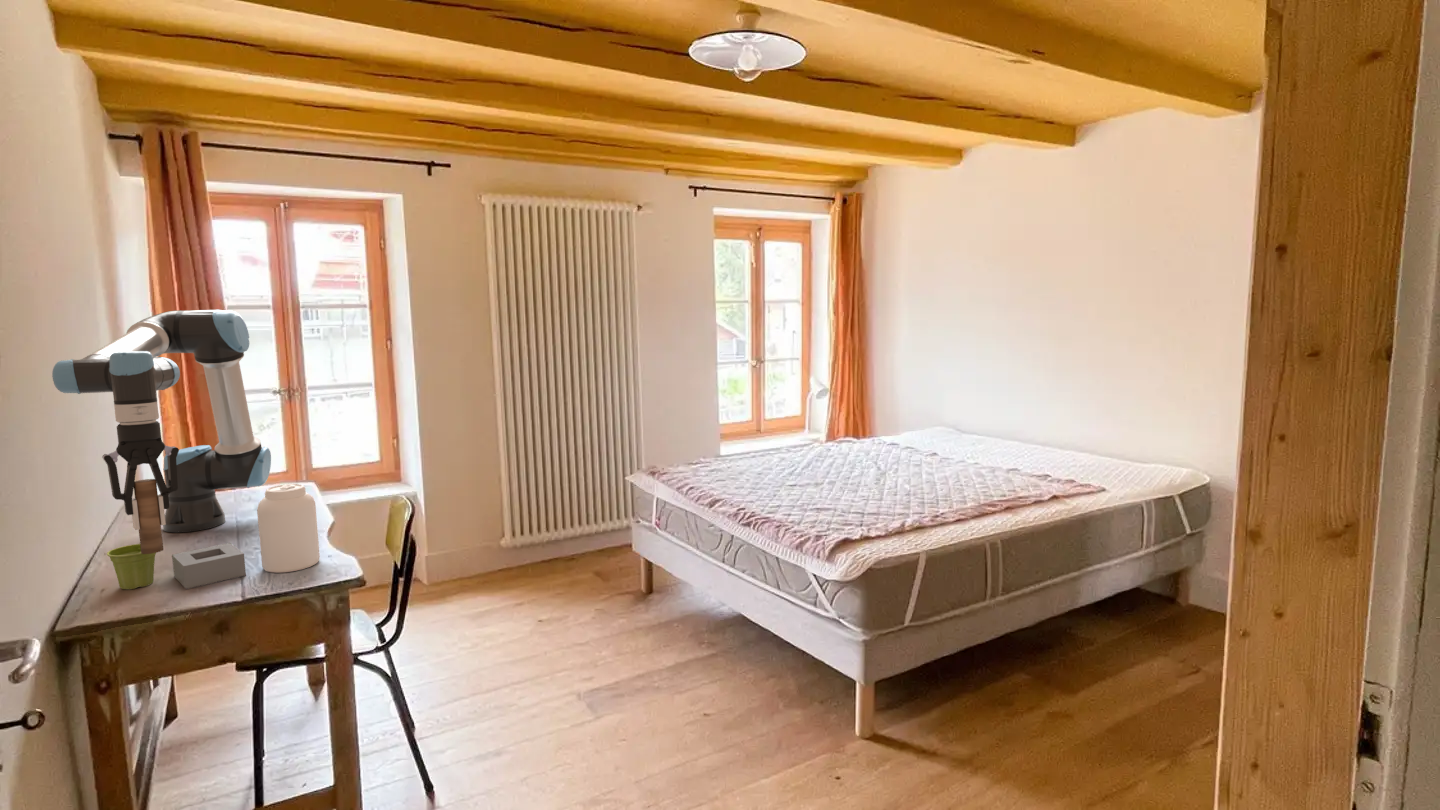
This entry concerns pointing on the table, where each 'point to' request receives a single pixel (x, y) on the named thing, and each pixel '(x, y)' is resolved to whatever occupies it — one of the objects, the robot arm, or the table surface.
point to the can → (288, 529)
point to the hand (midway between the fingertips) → (149, 525)
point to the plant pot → (132, 566)
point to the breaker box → (208, 565)
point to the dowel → (148, 516)
